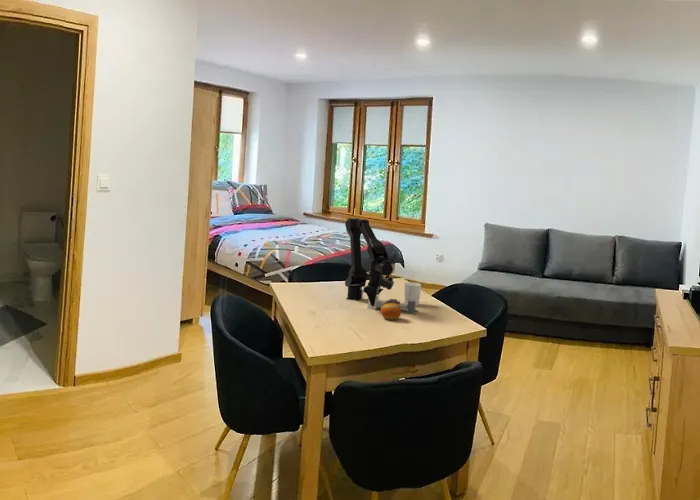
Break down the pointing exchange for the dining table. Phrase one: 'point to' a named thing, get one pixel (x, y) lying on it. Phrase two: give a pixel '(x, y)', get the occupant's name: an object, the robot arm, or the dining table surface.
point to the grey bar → (380, 304)
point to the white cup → (412, 292)
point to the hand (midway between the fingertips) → (373, 305)
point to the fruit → (391, 311)
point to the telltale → (411, 306)
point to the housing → (396, 303)
